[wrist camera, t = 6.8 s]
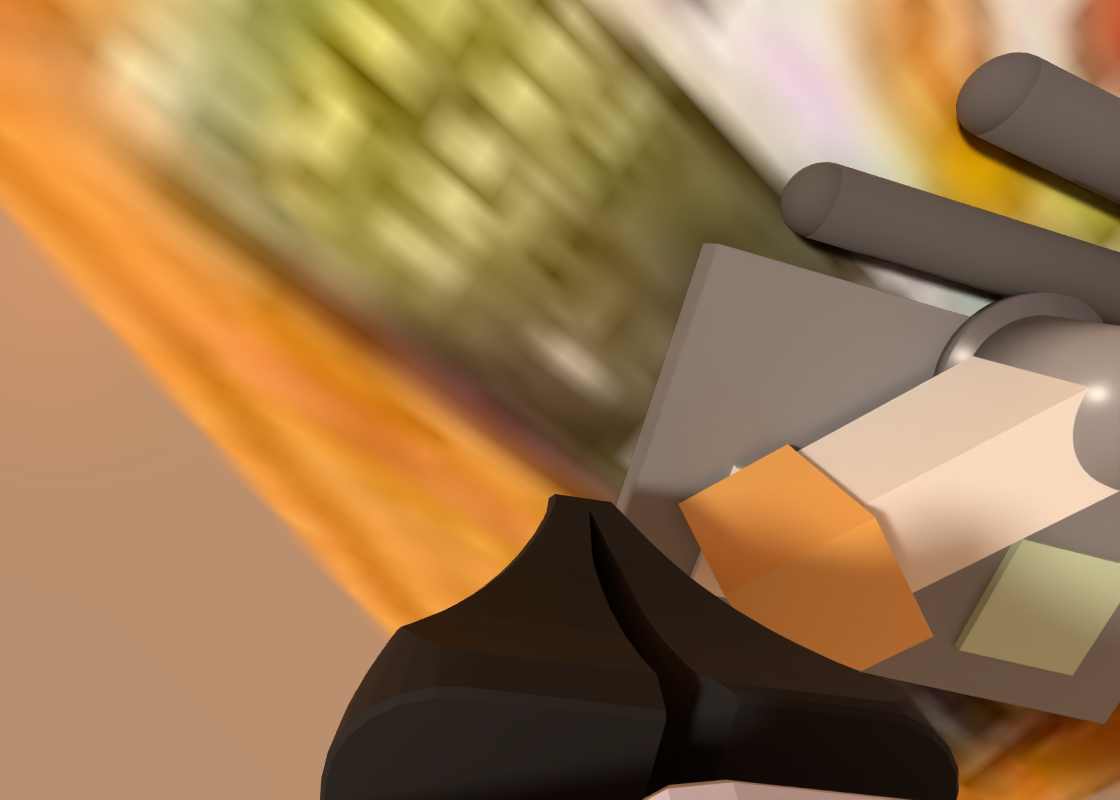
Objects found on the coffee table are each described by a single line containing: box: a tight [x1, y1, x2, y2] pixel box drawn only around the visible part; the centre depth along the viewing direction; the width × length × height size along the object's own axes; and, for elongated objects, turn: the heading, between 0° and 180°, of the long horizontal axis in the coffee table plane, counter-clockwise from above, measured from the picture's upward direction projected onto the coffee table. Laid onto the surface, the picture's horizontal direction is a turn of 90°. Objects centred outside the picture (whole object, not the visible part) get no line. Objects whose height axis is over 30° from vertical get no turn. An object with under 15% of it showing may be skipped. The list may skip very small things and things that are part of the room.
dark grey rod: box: [780, 162, 1120, 326], centre depth 13 cm, size 16×2×2 cm, turn 75°
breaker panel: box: [616, 244, 1120, 724], centre depth 14 cm, size 16×11×2 cm
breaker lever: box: [679, 315, 1120, 671], centre depth 11 cm, size 3×10×4 cm, turn 121°
